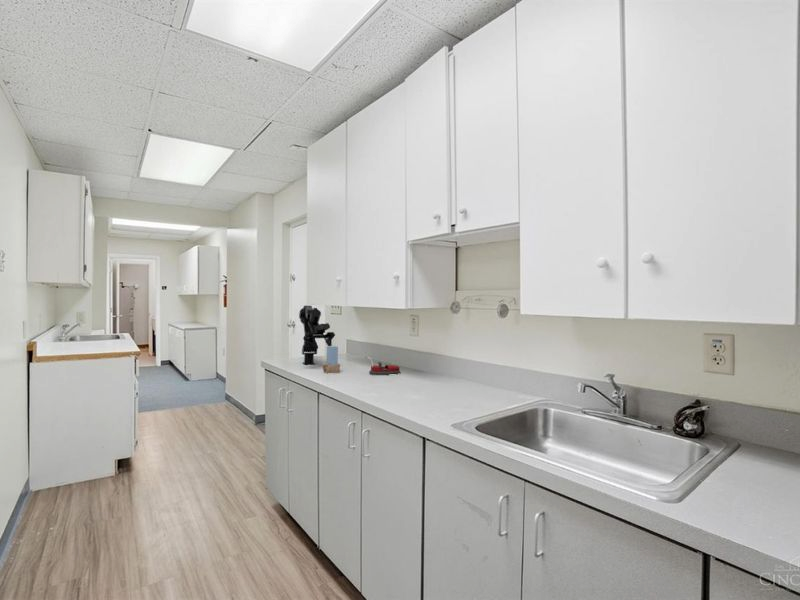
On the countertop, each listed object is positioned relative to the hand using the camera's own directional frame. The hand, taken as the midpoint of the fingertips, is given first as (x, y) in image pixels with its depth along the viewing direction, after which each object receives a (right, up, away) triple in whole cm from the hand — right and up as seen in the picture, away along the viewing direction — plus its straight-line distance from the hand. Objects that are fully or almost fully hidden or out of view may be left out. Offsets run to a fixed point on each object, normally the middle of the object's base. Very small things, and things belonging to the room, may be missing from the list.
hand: (324, 348), depth 242 cm
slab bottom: (+5, -13, -6) cm, 15 cm away
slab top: (+5, -11, -6) cm, 13 cm away
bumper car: (+34, -14, -6) cm, 37 cm away
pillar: (+5, -8, -6) cm, 11 cm away
